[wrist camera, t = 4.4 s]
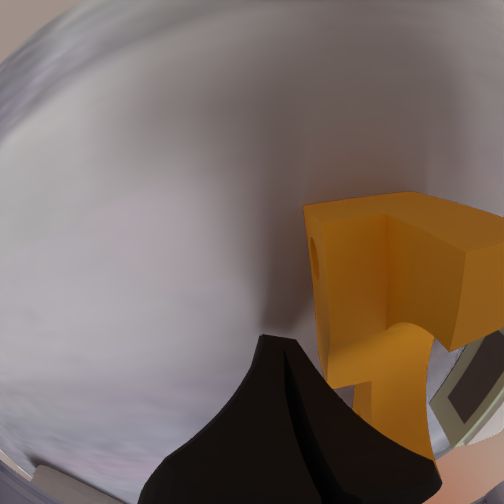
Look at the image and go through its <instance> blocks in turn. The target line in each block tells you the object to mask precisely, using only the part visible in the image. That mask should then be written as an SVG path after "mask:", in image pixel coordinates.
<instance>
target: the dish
mask: <svg viewBox="0 0 504 504" xmlns="http://www.w3.org/2000/svg"><path fill="white" fill-rule="evenodd" d="M33 474H34V477H33V478H32V480H31V483H33V484H34V485H36V486H37V487H39V488H40V489H42V490H43V491H45V492H47V493H48V494H50V495H52V496H53V497H55V498H57V499H59V500H60V501H62V502H64V503H66V504H124V503H122V502H120V501H118V500H116V499H114V498H112V497H110V496H108V495H106V494H104V493H101V492H99V491H97V490H95V489H94V488H92V487H90V486H88V485H85V484H83V483H81V482H79V481H77V480H75V479H74V478H72V477H69V476H67V475H65V474H63V473H61V472H59V471H57V470H55V469H52V468H50V467H47V466H44V465H39V466H38V467H37V468H36V470H35V472H34V473H33Z"/></svg>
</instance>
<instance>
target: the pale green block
mask: <svg viewBox="0 0 504 504" xmlns="http://www.w3.org/2000/svg"><path fill="white" fill-rule="evenodd" d="M429 405H430V407H431V409H432V410H433V412H434V414H435V416H436V418H437V419H438V421H439V423H440V425H441V427H442V429H443V431H444V433H445V434H446V436H447V438H448V440H449V442H450V444H451V446H452V448H456V447H459V446H462V445H465V446H467V445H470V444H473V443H475V442H478V441H481V440H483V439H486V438H488V437H491V436H493V435H495V434H498V433H500V431H501V430H502V429H503V428H504V327H503V328H501V329H499V330H497V331H495V332H493V333H491V334H489V335H487V336H485V337H483V338H481V339H478V340H476V341H474V342H472V343H469V344H467V346H466V347H465V349H464V351H463V353H462V354H461V356H460V358H459V360H458V361H457V363H456V364H455V366H454V368H453V369H452V371H451V372H450V374H449V376H448V377H447V379H446V380H445V382H444V383H443V385H442V386H441V388H440V389H439V390H438V392H437V393H436V395H435V396H434V397H433V399H432V400H431V402H430V403H429Z"/></svg>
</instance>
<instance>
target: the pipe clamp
mask: <svg viewBox="0 0 504 504" xmlns="http://www.w3.org/2000/svg"><path fill="white" fill-rule="evenodd" d="M303 211H304V218H305V226H306V233H307V241H308V249H309V257H310V265H311V274H312V284H313V294H314V304H315V315H316V327H317V340H318V354H319V358H320V362H321V366H322V370H323V374H324V377H325V381H326V382H327V383H328V385H329V386H330V387H331V388H332V389H337V388H342V387H346V386H351V385H355V387H354V400H353V411H354V412H355V413H356V414H357V415H358V416H360V417H361V418H362V419H363V420H364V421H366V422H367V423H368V424H370V425H371V426H372V427H374V428H375V429H376V430H378V431H379V432H380V433H382V434H383V435H385V436H386V437H388V438H389V439H391V440H393V441H394V442H396V443H398V444H399V445H401V446H403V447H405V448H407V449H408V450H411V451H413V452H415V453H417V454H419V455H422V456H424V457H426V458H428V459H431V460H433V461H434V464H435V466H436V468H437V465H436V462H435V459H434V455H433V451H432V447H431V442H430V437H429V430H428V423H427V412H426V379H427V369H428V362H429V357H430V352H431V348H432V345H433V342H434V339H435V338H436V339H437V340H439V342H440V343H441V344H442V345H443V346H444V347H445V348H446V349H447V350H448V351H449V352H450V351H453V350H455V349H458V348H460V347H463V346H465V345H467V344H469V343H472V342H474V341H476V340H478V339H481V338H483V337H485V336H487V335H489V334H491V333H493V332H495V331H497V330H499V329H501V328H503V327H504V218H503V217H500V216H497V215H494V214H491V213H488V212H485V211H482V210H479V209H476V208H472V207H469V206H466V205H462V204H459V203H455V202H452V201H448V200H444V199H441V198H437V197H433V196H429V195H425V194H421V193H417V192H412V191H408V192H399V193H390V194H382V195H374V196H366V197H358V198H351V199H343V200H336V201H329V202H322V203H315V204H309V205H303ZM437 471H438V468H437ZM438 473H439V471H438ZM439 475H440V474H439Z"/></svg>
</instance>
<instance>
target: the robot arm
mask: <svg viewBox="0 0 504 504" xmlns="http://www.w3.org/2000/svg"><path fill="white" fill-rule="evenodd" d="M441 485H442V480H441V478H440V475H439V473H438V471H437V468H436V466H435V464H434V461H433V460H431V459H428V458H426V457H424V456H422V455H419V454H417V453H415V452H413V451H411V450H408V449H407V448H405V447H403V446H401V445H399V444H398V443H396V442H394V441H393V440H391V439H389V438H388V437H386V436H385V435H383V434H382V433H380V432H379V431H378V430H376V429H375V428H374V427H372V426H371V425H370V424H368V423H367V422H366V421H364V420H363V419H362V418H361V417H360V416H358V415H357V414H356V413H355V412H354V411H353V410H352V409H351V408H350V407H349V406H348V405H347V404H346V403H345V402H344V401H343V400H342V399H341V398H340V397H339V396H338V395H337V394H336V393H335V392H334V390H333V389H332V388H331V387H330V386H329V385H328V383H327V382H326V381H325V380H324V378H323V377H322V376H321V375H320V373H319V372H318V371H317V369H316V368H315V366H314V365H313V364H312V362H311V361H310V359H309V358H308V357H307V355H306V354H305V352H304V351H303V349H302V348H301V346H300V345H299V343H298V342H297V340H296V339H289V338H283V337H277V336H271V335H265V334H263V335H261V336H259V339H258V343H257V346H256V350H255V354H254V357H253V361H252V364H251V367H250V369H249V371H248V373H247V374H246V376H245V378H244V379H243V381H242V383H241V384H240V386H239V387H238V389H237V390H236V392H235V393H234V394H233V396H232V397H231V398H230V400H229V401H228V402H227V403H226V405H225V406H224V407H223V408H222V409H221V410H220V412H219V413H218V414H217V415H216V416H215V417H214V418H213V419H212V420H211V421H210V422H209V423H208V424H207V425H206V426H205V427H204V428H203V429H202V430H200V431H199V432H198V433H197V434H196V435H195V436H194V437H193V438H191V439H190V440H189V441H188V442H186V443H185V444H184V445H182V446H181V447H180V448H178V449H177V450H175V451H174V452H173V453H171V454H170V455H168V456H167V457H166V458H165V459H164V460H163V461H162V462H161V464H160V465H159V466H158V467H157V469H156V470H155V471H154V472H153V474H152V475H151V476H150V477H149V479H148V480H147V482H146V483H145V485H144V487H143V489H142V491H141V494H140V497H139V500H138V504H422V503H423V502H425V501H426V500H428V499H429V498H430V497H432V496H433V495H434V494H436V492H437V491H438V490H439V489H440V488H441ZM0 504H66V503H64V502H62V501H60V500H59V499H57V498H55V497H53V496H52V495H50V494H48V493H47V492H45V491H43V490H42V489H40V488H39V487H37V486H36V485H34V484H33V483H31V482H30V481H28V480H27V479H25V478H23V477H22V476H21V475H20V474H18V473H17V472H16V471H14V470H13V469H12V468H10V467H9V466H8V465H6V464H5V463H4V462H3V461H1V460H0ZM471 504H504V481H502V482H501V483H499V484H498V485H497V486H495V487H494V488H493V489H492V490H490V491H489V492H488V493H487V494H486V495H485V496H483V497H481V498H480V499H478V500H476V501H475V502H473V503H471Z"/></svg>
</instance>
